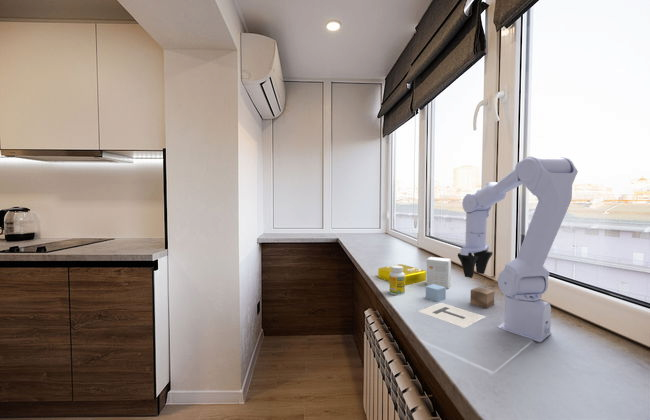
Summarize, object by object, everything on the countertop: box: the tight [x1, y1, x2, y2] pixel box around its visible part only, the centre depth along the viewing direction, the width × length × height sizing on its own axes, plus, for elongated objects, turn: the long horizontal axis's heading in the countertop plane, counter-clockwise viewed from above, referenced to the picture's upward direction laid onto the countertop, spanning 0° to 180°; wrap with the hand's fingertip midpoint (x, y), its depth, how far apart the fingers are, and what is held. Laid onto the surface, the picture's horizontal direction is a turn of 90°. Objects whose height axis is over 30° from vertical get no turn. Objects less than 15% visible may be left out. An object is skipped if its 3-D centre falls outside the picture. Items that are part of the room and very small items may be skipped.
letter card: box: [418, 301, 486, 329], centre depth 85 cm, size 14×12×1 cm
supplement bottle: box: [388, 264, 406, 296], centre depth 104 cm, size 5×5×10 cm
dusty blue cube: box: [425, 284, 447, 303], centre depth 98 cm, size 4×4×4 cm
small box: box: [426, 256, 452, 290], centre depth 113 cm, size 8×6×10 cm
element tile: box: [377, 263, 427, 286], centre depth 123 cm, size 15×15×5 cm
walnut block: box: [469, 286, 495, 309], centre depth 93 cm, size 5×5×5 cm
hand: (474, 275), depth 93 cm, fingers open, 7 cm apart
